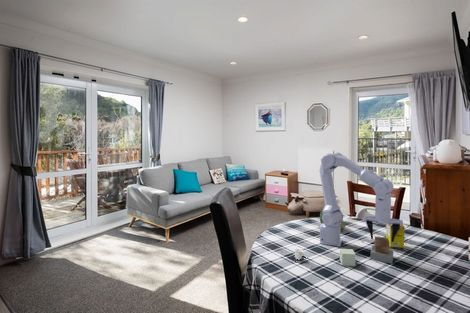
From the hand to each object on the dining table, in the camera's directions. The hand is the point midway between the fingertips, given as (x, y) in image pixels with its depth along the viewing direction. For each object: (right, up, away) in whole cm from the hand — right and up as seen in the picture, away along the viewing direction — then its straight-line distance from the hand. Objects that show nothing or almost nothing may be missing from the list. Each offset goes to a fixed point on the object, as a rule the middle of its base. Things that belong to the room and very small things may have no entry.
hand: (382, 239), depth 115 cm
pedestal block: (0, -8, +1) cm, 8 cm away
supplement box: (+13, -7, +12) cm, 19 cm away
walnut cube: (0, -5, 0) cm, 5 cm away
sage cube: (-16, -9, -4) cm, 19 cm away
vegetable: (-7, -6, +39) cm, 40 cm away
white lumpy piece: (-33, -9, +1) cm, 34 cm away
